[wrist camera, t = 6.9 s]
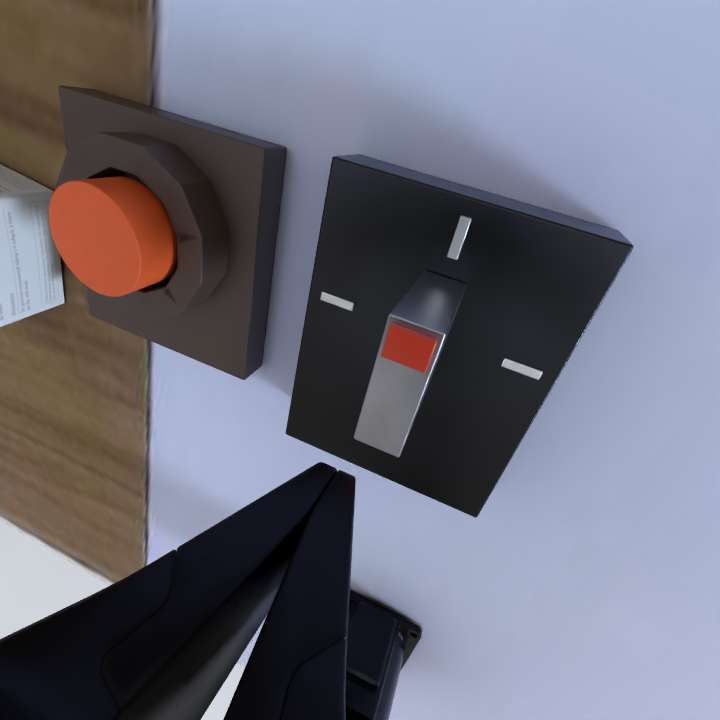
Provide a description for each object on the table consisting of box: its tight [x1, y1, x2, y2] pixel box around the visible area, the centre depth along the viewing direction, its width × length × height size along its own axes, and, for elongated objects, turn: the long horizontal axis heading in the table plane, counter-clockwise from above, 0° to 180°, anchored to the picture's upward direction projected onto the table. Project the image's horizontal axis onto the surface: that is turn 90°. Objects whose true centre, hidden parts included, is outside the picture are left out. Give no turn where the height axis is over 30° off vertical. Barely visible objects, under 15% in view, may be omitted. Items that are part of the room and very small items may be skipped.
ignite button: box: [49, 176, 177, 297], centre depth 17 cm, size 4×4×2 cm
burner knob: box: [354, 270, 467, 457], centre depth 14 cm, size 5×2×5 cm, turn 166°
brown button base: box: [57, 86, 286, 380], centre depth 20 cm, size 11×10×4 cm
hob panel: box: [286, 154, 633, 517], centre depth 18 cm, size 13×10×3 cm
